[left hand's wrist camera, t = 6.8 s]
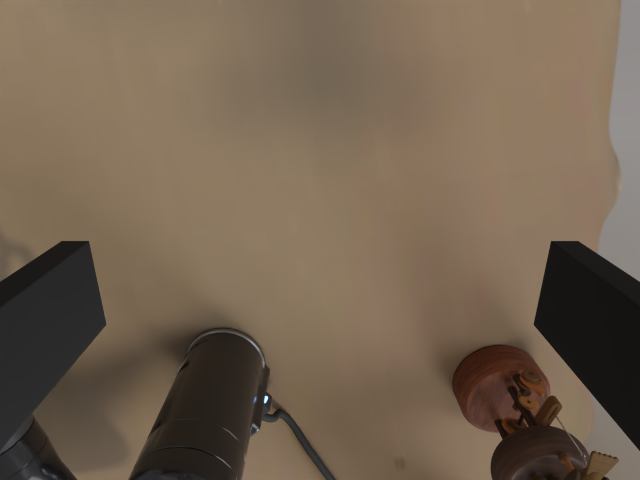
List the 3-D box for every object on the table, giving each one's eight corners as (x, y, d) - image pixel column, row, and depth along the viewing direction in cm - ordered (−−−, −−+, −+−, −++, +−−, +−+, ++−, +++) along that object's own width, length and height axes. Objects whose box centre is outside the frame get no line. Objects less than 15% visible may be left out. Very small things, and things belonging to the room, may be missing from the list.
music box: (455, 333, 51) (555, 483, 32) (544, 329, 52) (690, 473, 33) (440, 433, 57) (519, 610, 38) (521, 428, 57) (636, 598, 39)
